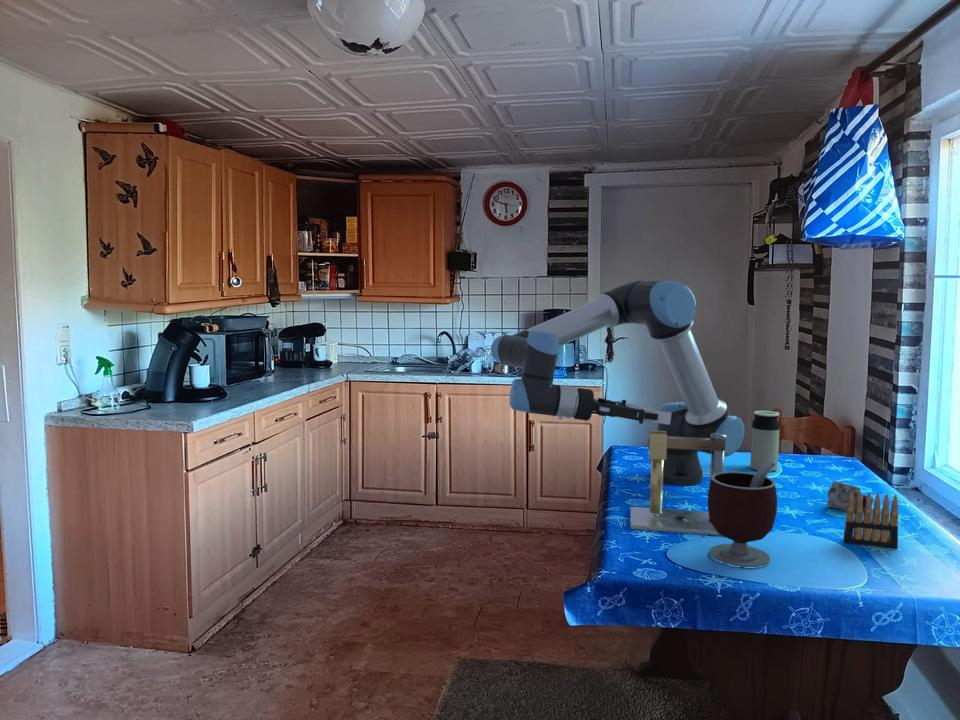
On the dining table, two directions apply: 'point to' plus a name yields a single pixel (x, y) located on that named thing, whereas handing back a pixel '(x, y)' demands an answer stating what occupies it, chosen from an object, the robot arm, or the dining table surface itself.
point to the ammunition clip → (871, 522)
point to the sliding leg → (657, 469)
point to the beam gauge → (682, 518)
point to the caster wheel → (843, 495)
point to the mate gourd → (742, 514)
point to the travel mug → (764, 440)
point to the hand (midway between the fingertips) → (660, 415)
